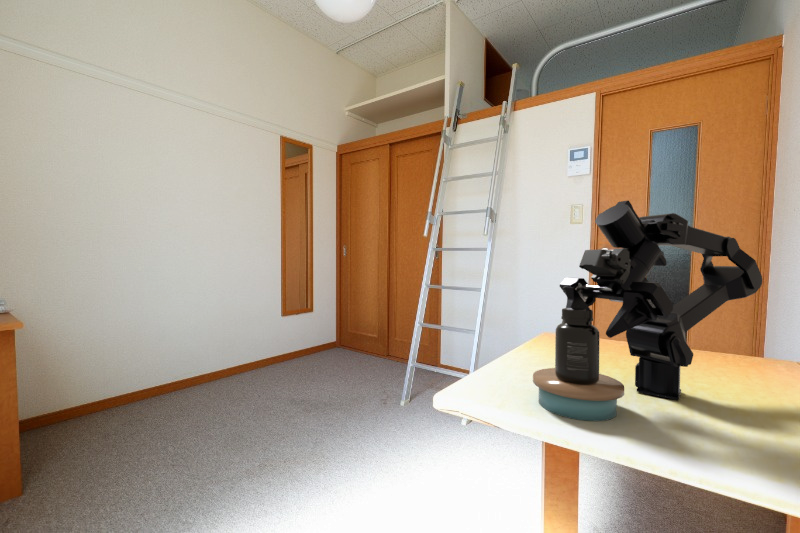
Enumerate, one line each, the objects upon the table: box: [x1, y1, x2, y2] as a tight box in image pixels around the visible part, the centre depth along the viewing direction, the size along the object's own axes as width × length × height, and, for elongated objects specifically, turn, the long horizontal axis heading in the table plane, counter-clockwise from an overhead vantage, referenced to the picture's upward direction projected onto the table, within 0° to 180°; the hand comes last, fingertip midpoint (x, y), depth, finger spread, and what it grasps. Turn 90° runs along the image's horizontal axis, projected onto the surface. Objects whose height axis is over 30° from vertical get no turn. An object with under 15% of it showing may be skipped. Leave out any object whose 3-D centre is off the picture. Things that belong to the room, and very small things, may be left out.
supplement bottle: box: [554, 307, 600, 385], centre depth 64 cm, size 7×7×12 cm
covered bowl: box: [532, 367, 625, 422], centre depth 64 cm, size 14×14×4 cm
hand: (584, 330), depth 64 cm, fingers open, 9 cm apart
